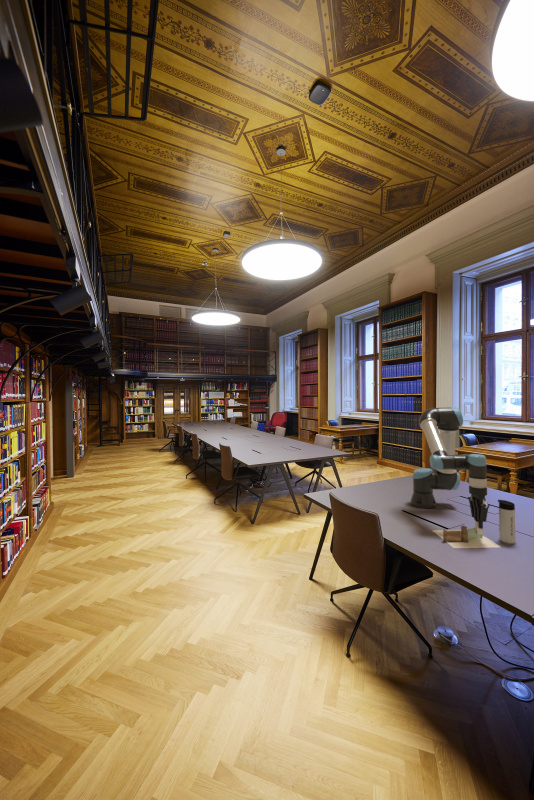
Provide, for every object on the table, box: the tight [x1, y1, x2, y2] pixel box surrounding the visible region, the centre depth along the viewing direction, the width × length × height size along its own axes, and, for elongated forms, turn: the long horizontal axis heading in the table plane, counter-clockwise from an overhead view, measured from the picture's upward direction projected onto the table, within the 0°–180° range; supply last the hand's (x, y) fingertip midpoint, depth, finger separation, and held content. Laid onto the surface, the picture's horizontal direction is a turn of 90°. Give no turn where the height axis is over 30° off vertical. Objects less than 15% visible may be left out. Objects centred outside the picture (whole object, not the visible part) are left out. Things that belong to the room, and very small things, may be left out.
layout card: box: [431, 529, 501, 549], centre depth 158 cm, size 20×22×1 cm
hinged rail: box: [467, 527, 484, 540], centre depth 158 cm, size 10×2×5 cm, turn 110°
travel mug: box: [497, 499, 517, 545], centre depth 154 cm, size 6×7×20 cm
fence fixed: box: [442, 525, 468, 542], centre depth 155 cm, size 2×11×7 cm, turn 89°
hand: (479, 534), depth 157 cm, fingers closed
